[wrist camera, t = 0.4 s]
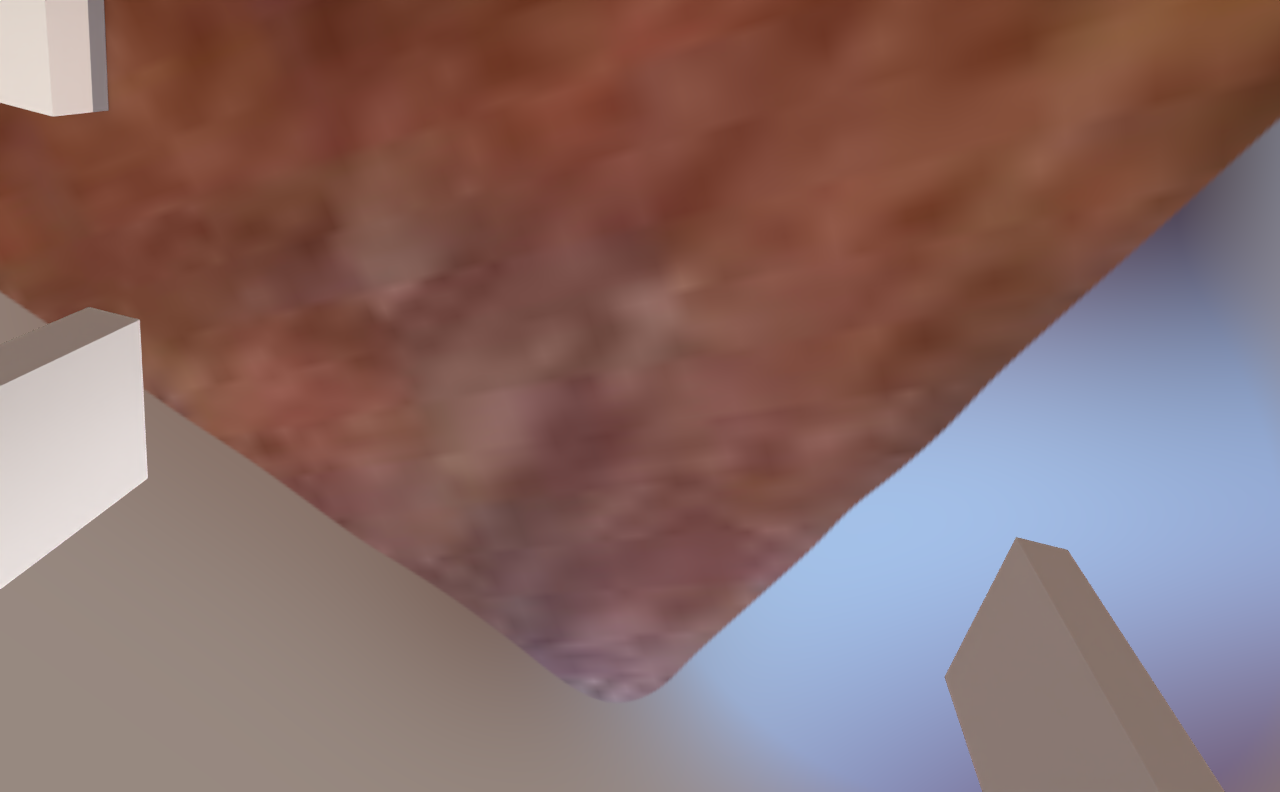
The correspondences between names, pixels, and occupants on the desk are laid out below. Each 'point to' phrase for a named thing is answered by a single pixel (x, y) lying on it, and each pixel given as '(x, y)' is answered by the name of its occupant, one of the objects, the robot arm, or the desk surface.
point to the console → (53, 56)
